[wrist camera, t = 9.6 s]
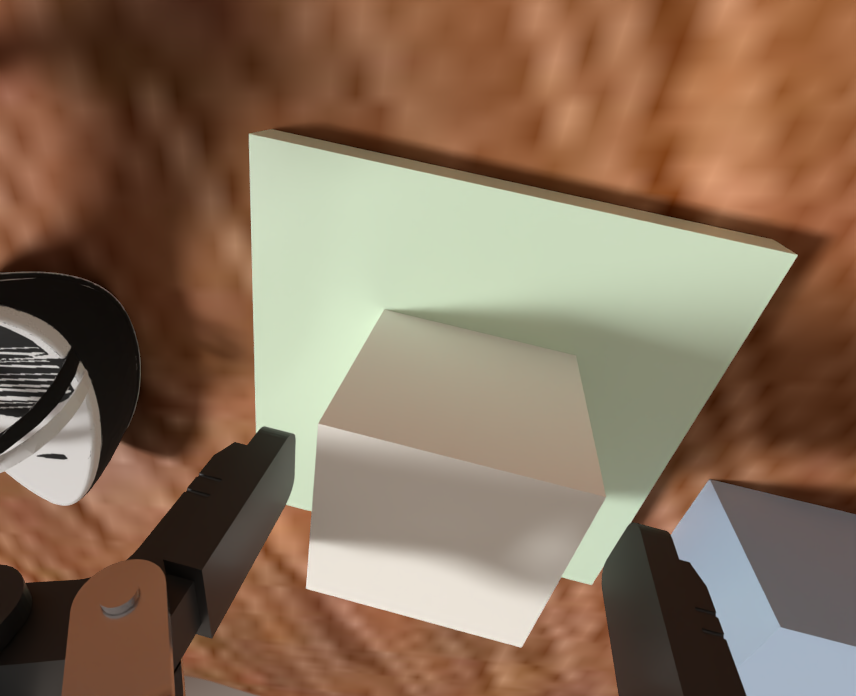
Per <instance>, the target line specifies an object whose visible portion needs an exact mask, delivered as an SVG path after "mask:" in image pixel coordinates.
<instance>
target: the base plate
mask: <svg viewBox="0 0 856 696" xmlns="http://www.w3.org/2000/svg"><path fill="white" fill-rule="evenodd" d="M249 162H250V202H251V243H252V284H253V325H254V366H255V406H256V433H257V432H258V430H259V429H260V428H261V427H263V426H266V427H270V428H274V429H277V430H281V431H285V432H289V433H293V434H295V437H296V446H295V478H294V484H293V488H292V491H291V494H290V497H289V499H288V501H287V503H286V505H289V506H293V507H297V508H300V509H304V510H308V511H312V501H313V487H314V474H315V460H316V446H317V432H318V423H319V421H320V419H321V418H322V416H323V414H324V413H325V411H326V409H327V407H328V406H329V404H330V402H331V400H332V399H333V397H334V395H335V394H336V392H337V390H338V388H339V387H340V385H341V383H342V381H343V380H344V378H345V376H346V375H347V373H348V371H349V369H350V368H351V366H352V364H353V362H354V361H355V359H356V357H357V355H358V354H359V352H360V350H361V349H362V347H363V345H364V343H365V342H366V340H367V338H368V336H369V335H370V333H371V331H372V330H373V328H374V326H375V324H376V323H377V321H378V319H379V317H380V316H381V314H382V312H383V310H384V309H385V310H389V311H393V312H397V313H401V314H405V315H410V316H414V317H418V318H422V319H426V320H430V321H435V322H439V323H443V324H447V325H451V326H455V327H459V328H464V329H468V330H472V331H476V332H480V333H484V334H488V335H493V336H497V337H501V338H505V339H509V340H513V341H518V342H522V343H526V344H530V345H534V346H538V347H542V348H547V349H551V350H555V351H559V352H563V353H567V354H572V355H576V358H577V362H578V367H579V372H580V377H581V381H582V386H583V391H584V395H585V400H586V405H587V409H588V414H589V419H590V423H591V428H592V433H593V437H594V442H595V447H596V452H597V456H598V461H599V466H600V470H601V475H602V480H603V484H604V489H605V494H606V498H605V500H604V502H603V504H602V506H601V507H600V509H599V511H598V513H597V514H596V516H595V518H594V520H593V522H592V523H591V525H590V527H589V529H588V530H587V532H586V534H585V536H584V538H583V539H582V541H581V543H580V545H579V546H578V548H577V550H576V552H575V553H574V555H573V557H572V559H571V561H570V562H569V564H568V566H567V568H566V569H565V571H564V573H563V575H562V577H563V578H567V579H570V580H574V581H578V582H582V583H586V584H590V585H592V584H593V582H594V580H595V579H596V577H597V576H598V574H599V572H600V571H601V569H602V568H603V566H604V564H605V562H606V560H607V558H608V556H609V555H610V553H611V552H612V550H613V548H614V547H615V545H616V544H617V542H618V541H619V539H620V537H621V536H622V534H623V533H624V531H625V529H626V528H627V526H628V525H629V524H630V523H631V521H632V520H633V518H634V517H635V515H636V513H637V512H638V510H639V509H640V507H641V505H642V504H643V502H644V501H645V499H646V497H647V496H648V494H649V493H650V491H651V489H652V488H653V486H654V485H655V483H656V481H657V480H658V478H659V477H660V475H661V473H662V472H663V470H664V469H665V467H666V465H667V464H668V462H669V461H670V459H671V457H672V456H673V454H674V453H675V451H676V449H677V448H678V446H679V445H680V443H681V441H682V440H683V438H684V437H685V435H686V433H687V432H688V430H689V429H690V427H691V425H692V424H693V422H694V421H695V419H696V417H697V416H698V414H699V413H700V411H701V409H702V408H703V406H704V405H705V403H706V401H707V400H708V398H709V397H710V395H711V393H712V392H713V390H714V389H715V387H716V385H717V384H718V382H719V381H720V379H721V378H722V376H723V374H724V373H725V371H726V370H727V368H728V366H729V365H730V363H731V362H732V360H733V358H734V357H735V355H736V354H737V352H738V350H739V349H740V347H741V346H742V344H743V342H744V341H745V339H746V338H747V336H748V334H749V333H750V331H751V330H752V328H753V326H754V325H755V323H756V322H757V320H758V318H759V317H760V315H761V314H762V312H763V310H764V309H765V307H766V306H767V304H768V302H769V301H770V299H771V298H772V296H773V294H774V293H775V291H776V290H777V288H778V286H779V285H780V283H781V282H782V280H783V278H784V277H785V275H786V274H787V272H788V270H789V269H790V267H791V266H792V264H793V262H794V261H795V259H796V258H797V256H798V255H797V254H796V253H794V252H792V251H791V250H789V249H788V248H786V247H784V246H783V245H781V244H780V243H778V242H776V241H775V240H773V239H769V238H764V237H760V236H755V235H751V234H746V233H742V232H737V231H733V230H728V229H724V228H719V227H714V226H710V225H705V224H701V223H696V222H692V221H687V220H683V219H678V218H674V217H669V216H664V215H660V214H655V213H651V212H646V211H642V210H637V209H633V208H628V207H623V206H619V205H614V204H610V203H605V202H601V201H596V200H592V199H587V198H583V197H578V196H573V195H569V194H564V193H560V192H555V191H551V190H546V189H542V188H537V187H533V186H528V185H523V184H519V183H514V182H510V181H505V180H501V179H496V178H492V177H487V176H483V175H478V174H473V173H469V172H464V171H460V170H455V169H451V168H446V167H442V166H437V165H433V164H428V163H423V162H419V161H414V160H410V159H405V158H401V157H396V156H392V155H387V154H383V153H378V152H373V151H369V150H364V149H360V148H355V147H351V146H346V145H342V144H337V143H333V142H328V141H323V140H319V139H314V138H310V137H305V136H301V135H296V134H292V133H287V132H282V131H278V130H273V129H269V130H264V131H260V132H255V133H250V134H249Z"/></svg>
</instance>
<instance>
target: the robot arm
mask: <svg viewBox="0 0 856 696" xmlns="http://www.w3.org/2000/svg"><path fill="white" fill-rule="evenodd" d="M295 446H296V437H295V434H293V433H289V432H285V431H281V430H277V429H274V428H270V427H266V426H263V427H261V428H260V429H259V430H258V432H257V433H256V434H255V436H254V437H253V438H252V440H251V441H250V442H249V444H248V445H244V444H240V443H236V442H234V443H233V444H231V445H230V446H228V447H226V448H225V449H223V450H222V451H220V452H218V453H217V454H215V455H214V456H213V457H212V458H211V460H210V461H209V462H208V463H207V465H206V466H205V467H204V468H203V469H202V471H201V472H200V473H199V476H198V477H196V478H195V479H194V481H193V482H192V483H191V484H190V485H189V487H188V488H187V491H186V492H184V493H183V494H182V495H181V497H180V498H179V499H178V500H177V501H176V503H175V504H174V505H173V506H172V508H171V509H170V510H169V511H168V513H167V514H166V515H165V516H164V518H163V519H162V520H161V521H160V522H159V524H158V525H157V526H156V527H155V529H154V530H153V531H152V532H151V534H150V535H149V536H148V537H147V538H146V540H145V541H144V542H143V543H142V545H141V546H140V547H139V548H138V549H137V550H136V552H135V553H134V554H133V555H132V556H130V557H129V558H128V559H127V560H125V561H121V562H118V563H115V564H112V565H110V566H108V567H106V568H104V569H103V570H101V571H99V572H98V573H96V574H95V575H94V576H92V577H90V578H86V579H80V580H67V581H50V582H33V583H25V581H24V579H23V577H22V575H21V574H20V573H19V571H18V570H16V569H14V568H13V567H10V566H7V565H0V696H185V683H184V669H183V655H184V653H185V652H186V650H187V648H188V646H189V645H190V643H191V641H192V640H193V638H194V636H195V634H198V635H202V636H205V637H209V638H213V636H214V634H215V632H216V630H217V628H218V627H219V625H220V623H221V621H222V619H223V618H224V616H225V614H226V612H227V610H228V609H229V607H230V605H231V603H232V601H233V599H234V598H235V596H236V594H237V592H238V590H239V589H240V587H241V585H242V583H243V581H244V579H245V578H246V576H247V574H248V572H249V570H250V569H251V567H252V565H253V563H254V561H255V559H256V558H257V556H258V554H259V552H260V550H261V549H262V547H263V545H264V543H265V541H266V540H267V538H268V536H269V534H270V532H271V530H272V529H273V527H274V525H275V523H276V521H277V520H278V518H279V516H280V514H281V512H282V510H283V509H284V507H285V505H286V503H287V501H288V499H289V497H290V494H291V491H292V488H293V484H294V478H295ZM602 591H603V598H604V604H605V611H606V617H607V623H608V630H609V636H610V642H611V649H612V655H613V662H614V668H615V674H616V681H617V687H618V693H619V696H747V695H746V693H745V690H744V687H743V684H742V682H741V679H740V676H739V673H738V671H737V668H736V665H735V662H734V660H733V657H732V654H731V651H730V649H729V646H728V643H727V640H726V639H724V632H723V629H722V627H721V624H720V621H719V618H718V617H716V610H715V607H714V605H713V602H712V599H711V596H710V594H709V591H708V588H707V586H706V585H705V583H704V582H703V580H702V579H701V578H700V576H699V575H698V573H697V572H696V570H695V569H694V568H693V566H692V565H691V563H690V562H687V561H683V560H680V559H679V557H678V554H677V551H676V548H675V545H674V542H673V539H672V537H671V535H670V534H669V532H667V531H665V530H661V529H657V528H653V527H649V526H645V525H641V524H638V523H634V522H633V523H630V524H629V525H628V526H627V528H626V529H625V531H624V533H623V534H622V536H621V537H620V539H619V541H618V542H617V544H616V545H615V547H614V548H613V550H612V552H611V553H610V555H609V556H608V558H607V560H606V562H605V564H604V568H603V573H602Z"/></svg>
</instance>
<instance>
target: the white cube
mask: <svg viewBox="0 0 856 696" xmlns="http://www.w3.org/2000/svg"><path fill="white" fill-rule="evenodd" d="M605 498H606V494H605V489H604V484H603V480H602V475H601V470H600V466H599V461H598V456H597V452H596V447H595V442H594V437H593V433H592V428H591V423H590V419H589V414H588V409H587V405H586V400H585V395H584V391H583V386H582V381H581V377H580V372H579V367H578V362H577V358H576V355H572V354H567V353H563V352H559V351H555V350H551V349H547V348H542V347H538V346H534V345H530V344H526V343H522V342H518V341H513V340H509V339H505V338H501V337H497V336H493V335H488V334H484V333H480V332H476V331H472V330H468V329H464V328H459V327H455V326H451V325H447V324H443V323H439V322H435V321H430V320H426V319H422V318H418V317H414V316H410V315H405V314H401V313H397V312H393V311H389V310H385V309H384V310H383V312H382V314H381V316H380V317H379V319H378V321H377V323H376V324H375V326H374V328H373V330H372V331H371V333H370V335H369V336H368V338H367V340H366V342H365V343H364V345H363V347H362V349H361V350H360V352H359V354H358V355H357V357H356V359H355V361H354V362H353V364H352V366H351V368H350V369H349V371H348V373H347V375H346V376H345V378H344V380H343V381H342V383H341V385H340V387H339V388H338V390H337V392H336V394H335V395H334V397H333V399H332V400H331V402H330V404H329V406H328V407H327V409H326V411H325V413H324V414H323V416H322V418H321V419H320V421H319V423H318V432H317V446H316V460H315V474H314V487H313V501H312V515H311V529H310V543H309V556H308V570H307V584H306V589H309V590H313V591H317V592H320V593H324V594H328V595H331V596H335V597H339V598H342V599H346V600H350V601H353V602H357V603H360V604H364V605H368V606H371V607H375V608H379V609H382V610H386V611H390V612H393V613H397V614H401V615H404V616H408V617H412V618H415V619H419V620H423V621H426V622H430V623H433V624H437V625H441V626H444V627H448V628H452V629H455V630H459V631H463V632H466V633H470V634H474V635H477V636H481V637H485V638H488V639H492V640H496V641H499V642H503V643H506V644H510V645H514V646H517V647H522V646H523V644H524V642H525V640H526V639H527V637H528V635H529V633H530V632H531V630H532V628H533V626H534V624H535V623H536V621H537V619H538V617H539V616H540V614H541V612H542V610H543V608H544V607H545V605H546V603H547V601H548V600H549V598H550V596H551V594H552V592H553V591H554V589H555V587H556V585H557V584H558V582H559V580H560V578H561V577H562V575H563V573H564V571H565V569H566V568H567V566H568V564H569V562H570V561H571V559H572V557H573V555H574V553H575V552H576V550H577V548H578V546H579V545H580V543H581V541H582V539H583V538H584V536H585V534H586V532H587V530H588V529H589V527H590V525H591V523H592V522H593V520H594V518H595V516H596V514H597V513H598V511H599V509H600V507H601V506H602V504H603V502H604V500H605Z"/></svg>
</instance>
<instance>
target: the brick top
mask: <svg viewBox="0 0 856 696" xmlns="http://www.w3.org/2000/svg"><path fill="white" fill-rule="evenodd" d="M671 537H672V539H673V542H674V545H675V548H676V551H677V554H678V557H679V559H680V560H683V561H687V562H690V563H691V565H692V566H693V568H694V569H695V570H696V572H697V573H698V575H699V576H700V578H701V579H702V580H703V582H704V583H705V585H706V586H707V588H708V591H709V594H710V596H711V599H712V602H713V605H714V607H715V610H716V617H718V618H719V621H720V624H721V627H722V629H723V632H724V639H726V640H727V643H728V646H729V649H730V651H731V654H732V657H733V660H734V662H735V665H736V668H737V671H738V673H739V676H740V679H741V682H742V684H743V687H744V690H745V693H746V695H747V696H856V514H852V513H848V512H844V511H840V510H836V509H832V508H827V507H823V506H819V505H815V504H811V503H807V502H802V501H798V500H794V499H790V498H786V497H782V496H778V495H773V494H769V493H765V492H761V491H757V490H753V489H748V488H744V487H740V486H736V485H732V484H728V483H724V482H719V481H715V480H711V479H709V481H708V482H707V484H706V485H705V486H704V488H703V489H702V491H701V492H700V494H699V495H698V496H697V498H696V499H695V501H694V502H693V504H692V505H691V507H690V508H689V509H688V511H687V512H686V514H685V515H684V517H683V518H682V520H681V521H680V522H679V524H678V525H677V527H676V528H675V530H674V531H673V532H672V534H671Z"/></svg>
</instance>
